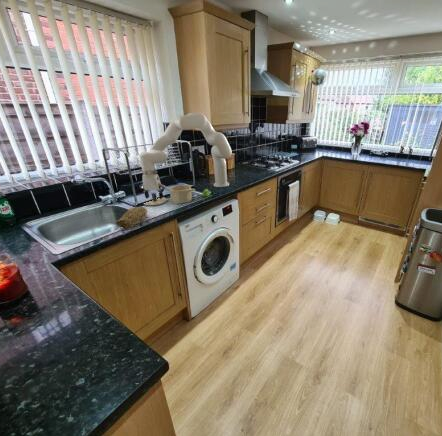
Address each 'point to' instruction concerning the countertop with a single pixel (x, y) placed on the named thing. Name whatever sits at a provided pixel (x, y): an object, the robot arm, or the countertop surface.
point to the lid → (155, 200)
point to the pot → (180, 193)
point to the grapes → (206, 193)
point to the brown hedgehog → (132, 217)
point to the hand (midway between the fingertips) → (154, 198)
